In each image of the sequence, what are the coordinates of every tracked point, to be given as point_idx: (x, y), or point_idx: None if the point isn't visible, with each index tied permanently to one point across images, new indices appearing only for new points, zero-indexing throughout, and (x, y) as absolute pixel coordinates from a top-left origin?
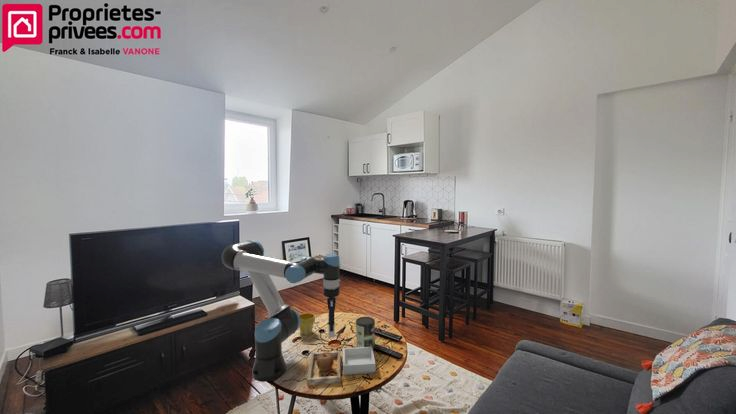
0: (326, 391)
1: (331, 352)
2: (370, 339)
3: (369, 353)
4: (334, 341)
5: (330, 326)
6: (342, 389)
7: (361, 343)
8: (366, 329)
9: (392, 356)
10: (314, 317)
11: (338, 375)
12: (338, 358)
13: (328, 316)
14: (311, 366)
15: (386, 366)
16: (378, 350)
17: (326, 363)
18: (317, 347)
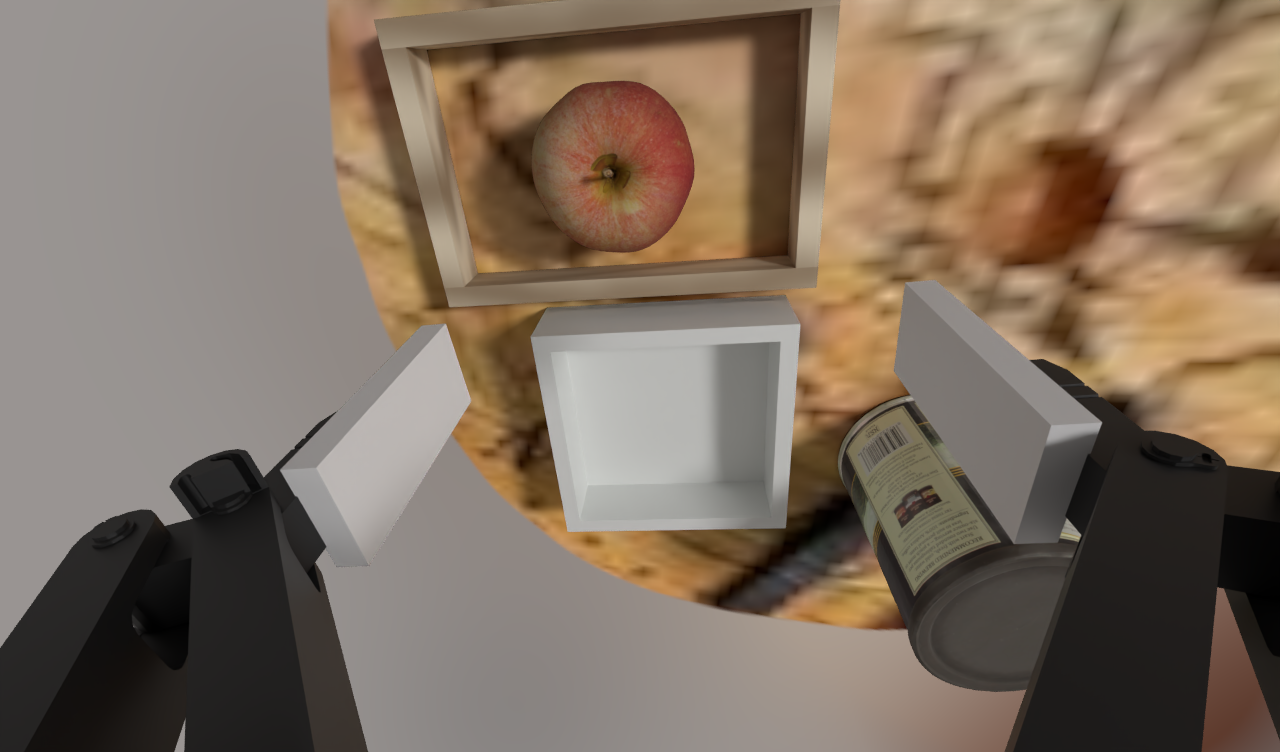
0: (361, 203)
1: (803, 208)
2: (867, 536)
3: (764, 482)
4: (1080, 202)
5: (268, 482)
6: (402, 309)
7: (869, 458)
8: (896, 588)
9: (739, 578)
10: None
11: (469, 293)
12: (696, 279)
13: (971, 351)
14: (577, 24)
15: (641, 542)
16: (822, 521)
17: (539, 197)
18: (1022, 15)
